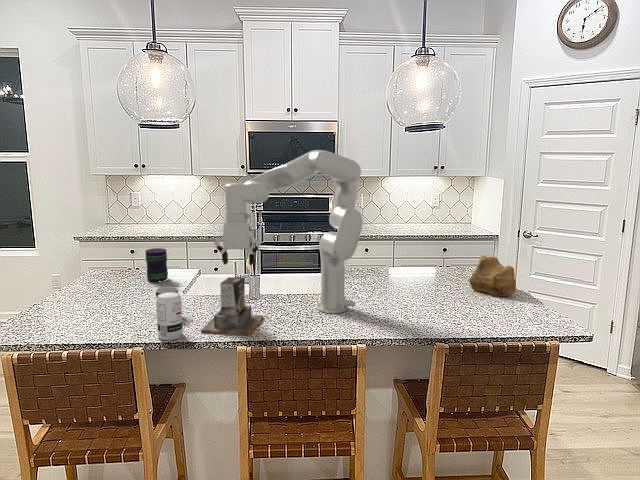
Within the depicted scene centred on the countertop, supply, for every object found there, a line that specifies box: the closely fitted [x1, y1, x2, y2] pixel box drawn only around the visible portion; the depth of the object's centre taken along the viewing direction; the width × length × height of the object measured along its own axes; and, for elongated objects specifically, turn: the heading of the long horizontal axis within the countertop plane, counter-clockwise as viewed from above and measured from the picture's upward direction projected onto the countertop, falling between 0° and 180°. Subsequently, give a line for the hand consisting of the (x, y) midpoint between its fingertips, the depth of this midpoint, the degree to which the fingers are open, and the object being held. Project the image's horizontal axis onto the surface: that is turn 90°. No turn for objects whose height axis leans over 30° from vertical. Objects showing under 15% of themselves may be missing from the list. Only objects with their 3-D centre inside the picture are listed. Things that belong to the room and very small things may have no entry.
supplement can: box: [155, 292, 184, 341], centre depth 168 cm, size 8×8×15 cm
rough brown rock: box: [468, 255, 517, 298], centre depth 223 cm, size 23×17×15 cm
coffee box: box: [219, 276, 246, 316], centre depth 179 cm, size 9×6×16 cm
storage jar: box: [145, 247, 169, 283], centre depth 239 cm, size 10×10×15 cm
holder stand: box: [200, 305, 264, 336], centre depth 180 cm, size 18×18×6 cm
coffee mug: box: [154, 286, 180, 298], centre depth 189 cm, size 12×9×10 cm
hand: (238, 264), depth 179 cm, fingers open, 9 cm apart
